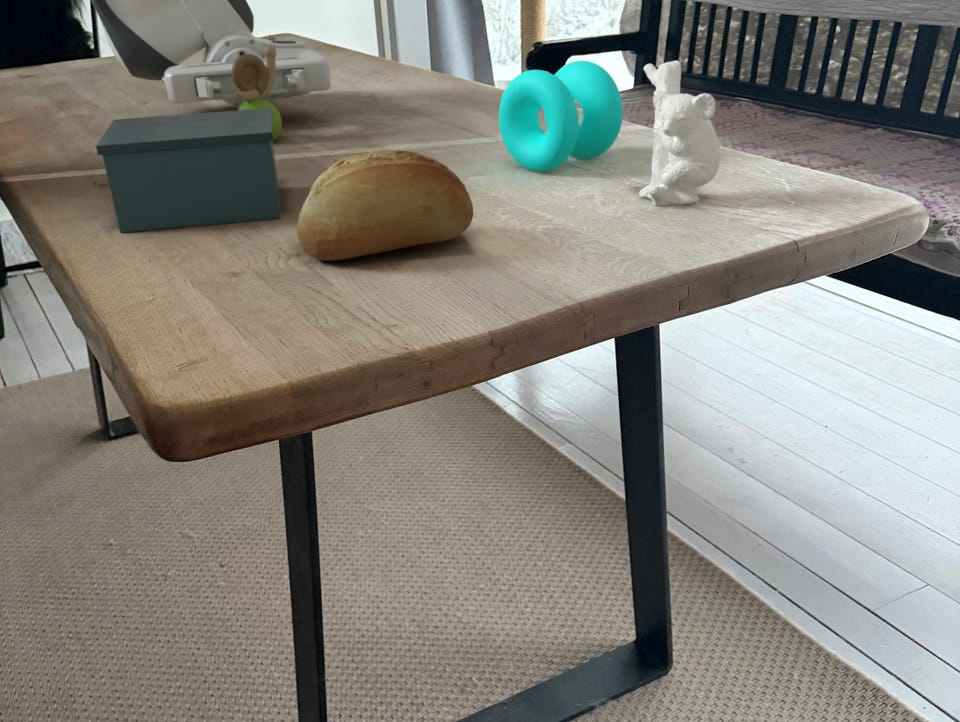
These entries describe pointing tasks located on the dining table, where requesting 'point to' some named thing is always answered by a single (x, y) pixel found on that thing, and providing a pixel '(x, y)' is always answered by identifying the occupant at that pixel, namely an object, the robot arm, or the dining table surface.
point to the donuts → (560, 115)
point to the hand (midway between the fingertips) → (255, 87)
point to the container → (191, 169)
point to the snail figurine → (257, 83)
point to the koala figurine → (680, 139)
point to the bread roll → (382, 205)
